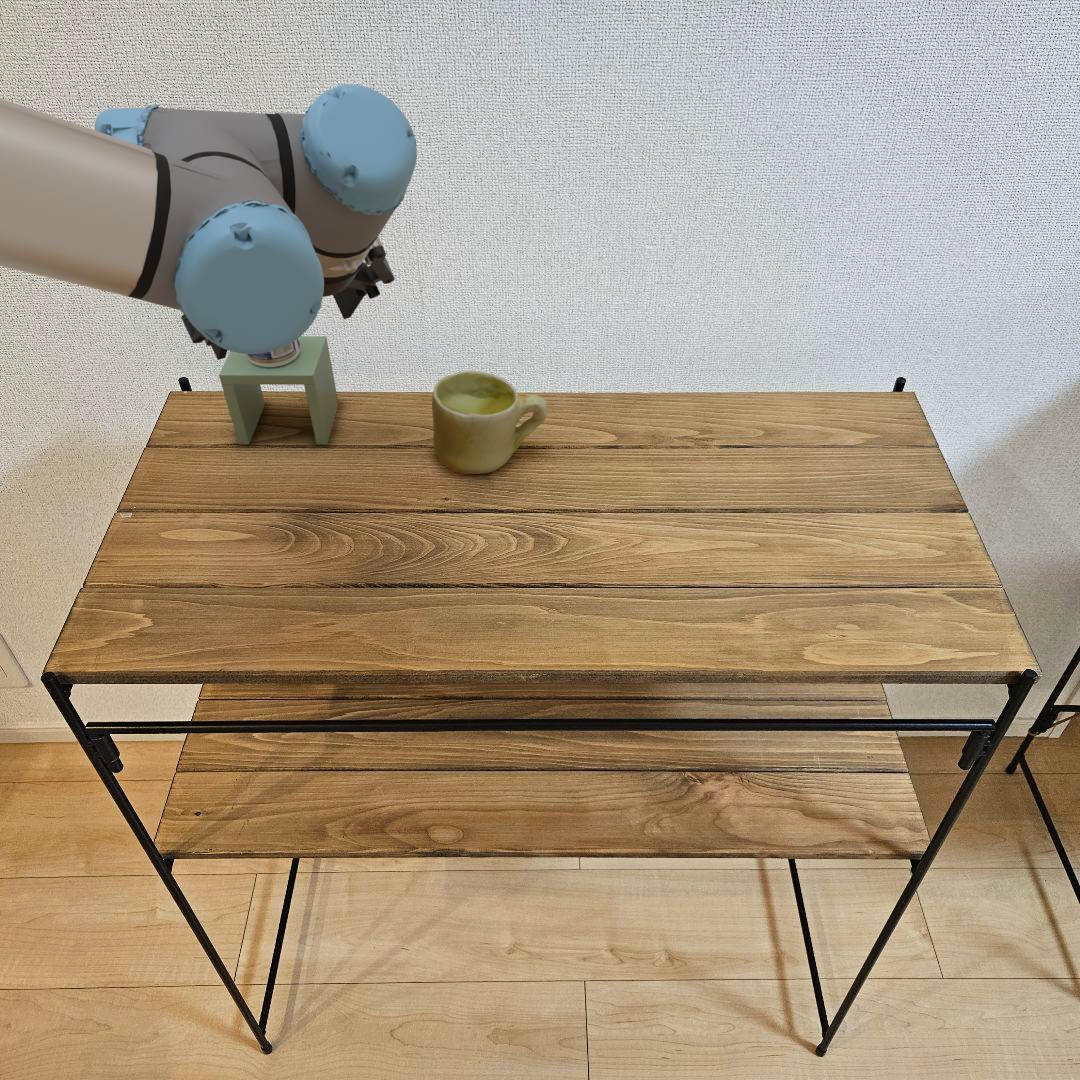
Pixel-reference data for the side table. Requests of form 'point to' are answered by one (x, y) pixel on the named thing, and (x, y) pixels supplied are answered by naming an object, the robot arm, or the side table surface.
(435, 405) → the mug
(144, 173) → the robot arm
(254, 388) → the shelf
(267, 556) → the side table surface
